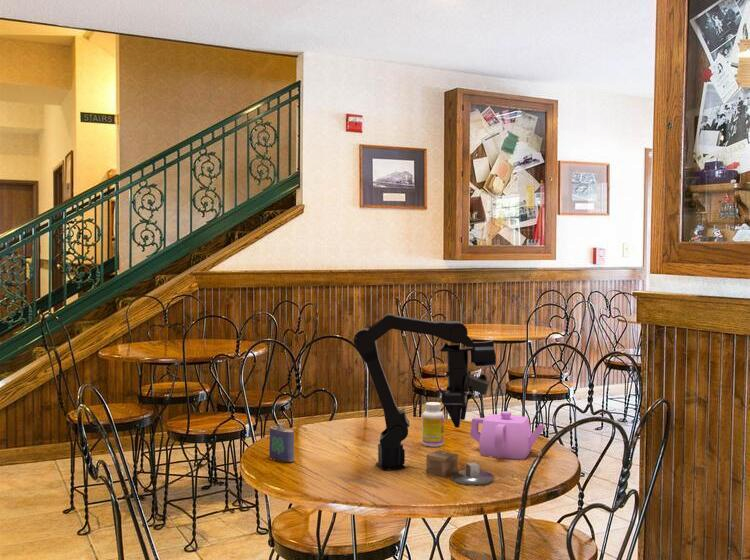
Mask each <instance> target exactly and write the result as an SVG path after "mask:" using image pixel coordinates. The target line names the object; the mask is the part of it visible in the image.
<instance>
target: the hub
mask: <svg viewBox="0 0 750 560" xmlns="http://www.w3.org/2000/svg"><path fill="white" fill-rule="evenodd" d="M450 477H451V481H452V482H453V481H454V483H455V482H456V483H455V484H458V483H459V485H462V484H465V485H464V486H468V485H475V486H474V487H479V486H478V485H483V486H487V484H488V485H491V484H493V483H492V482H493V481H494V482H495V476H494V474H493V473H491V472H489V471H485V470H480V464H478V463H477V462H466V463H465V469H460V470H458V471H455V472H453V473H452V474H451V475H450ZM490 483H491V484H490Z"/></svg>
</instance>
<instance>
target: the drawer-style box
mask: <svg viewBox="0 0 750 560" xmlns="http://www.w3.org/2000/svg"><path fill="white" fill-rule="evenodd" d="M458 457H459V455H458V453H454V452H450V451H446V450H440V449H439V450H436V451H433V452H430V453H428V454H426V474H428V475H431V476H432V475H433V476H436V477H442V478H447V477H451V474H452V473H453V472H455V471H459V470H458V469H459V465H458V464H459V463H458V462H459V461H458Z"/></svg>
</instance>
